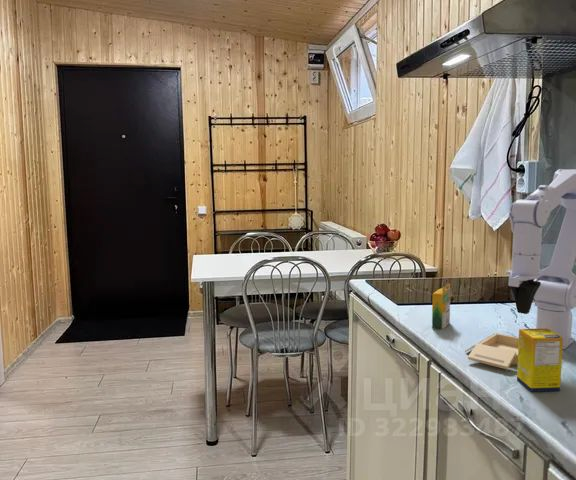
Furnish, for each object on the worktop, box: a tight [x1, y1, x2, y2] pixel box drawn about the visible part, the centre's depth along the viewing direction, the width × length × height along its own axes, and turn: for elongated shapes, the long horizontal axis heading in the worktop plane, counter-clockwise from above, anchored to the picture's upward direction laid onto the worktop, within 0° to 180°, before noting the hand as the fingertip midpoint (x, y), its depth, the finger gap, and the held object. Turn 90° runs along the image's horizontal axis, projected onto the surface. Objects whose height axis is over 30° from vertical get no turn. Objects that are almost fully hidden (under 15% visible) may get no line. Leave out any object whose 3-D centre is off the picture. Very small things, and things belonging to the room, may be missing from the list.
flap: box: [467, 342, 516, 370], centre depth 111 cm, size 5×9×1 cm, turn 46°
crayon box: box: [431, 282, 451, 330], centre depth 140 cm, size 7×3×12 cm, turn 147°
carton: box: [464, 332, 519, 367], centre depth 119 cm, size 15×15×2 cm
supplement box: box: [516, 328, 563, 393], centre depth 100 cm, size 6×6×11 cm
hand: (523, 312), depth 115 cm, fingers closed
